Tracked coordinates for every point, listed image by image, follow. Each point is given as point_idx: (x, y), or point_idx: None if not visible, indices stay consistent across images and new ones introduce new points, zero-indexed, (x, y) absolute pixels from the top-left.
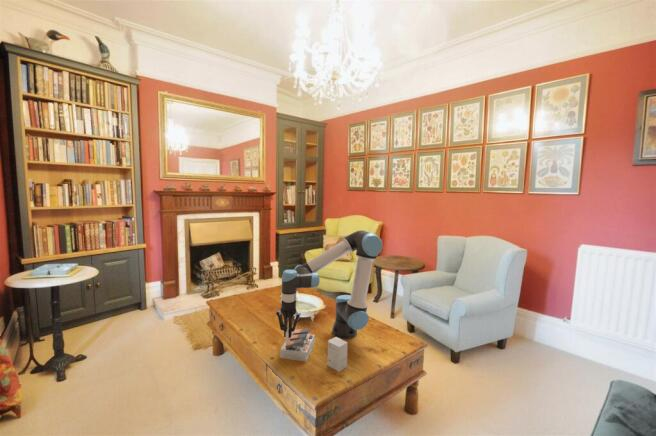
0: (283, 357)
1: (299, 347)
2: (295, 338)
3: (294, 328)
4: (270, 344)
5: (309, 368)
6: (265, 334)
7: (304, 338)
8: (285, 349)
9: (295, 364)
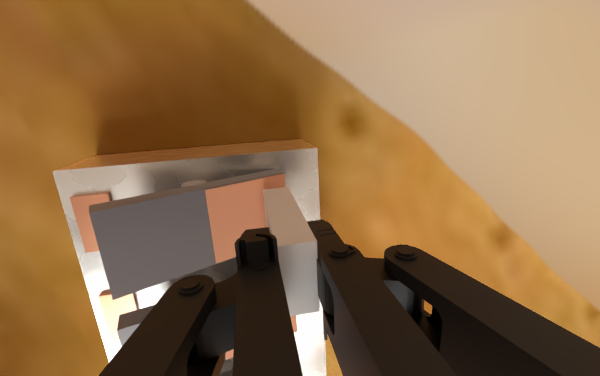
0: (279, 141)
1: None
2: None
3: (140, 330)
4: None
5: (21, 77)
6: None
7: (123, 319)
8: (272, 155)
9: (161, 97)
